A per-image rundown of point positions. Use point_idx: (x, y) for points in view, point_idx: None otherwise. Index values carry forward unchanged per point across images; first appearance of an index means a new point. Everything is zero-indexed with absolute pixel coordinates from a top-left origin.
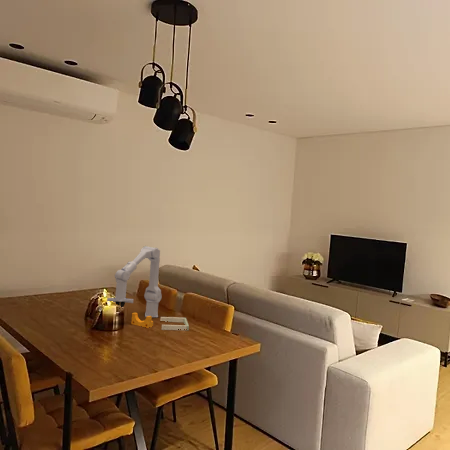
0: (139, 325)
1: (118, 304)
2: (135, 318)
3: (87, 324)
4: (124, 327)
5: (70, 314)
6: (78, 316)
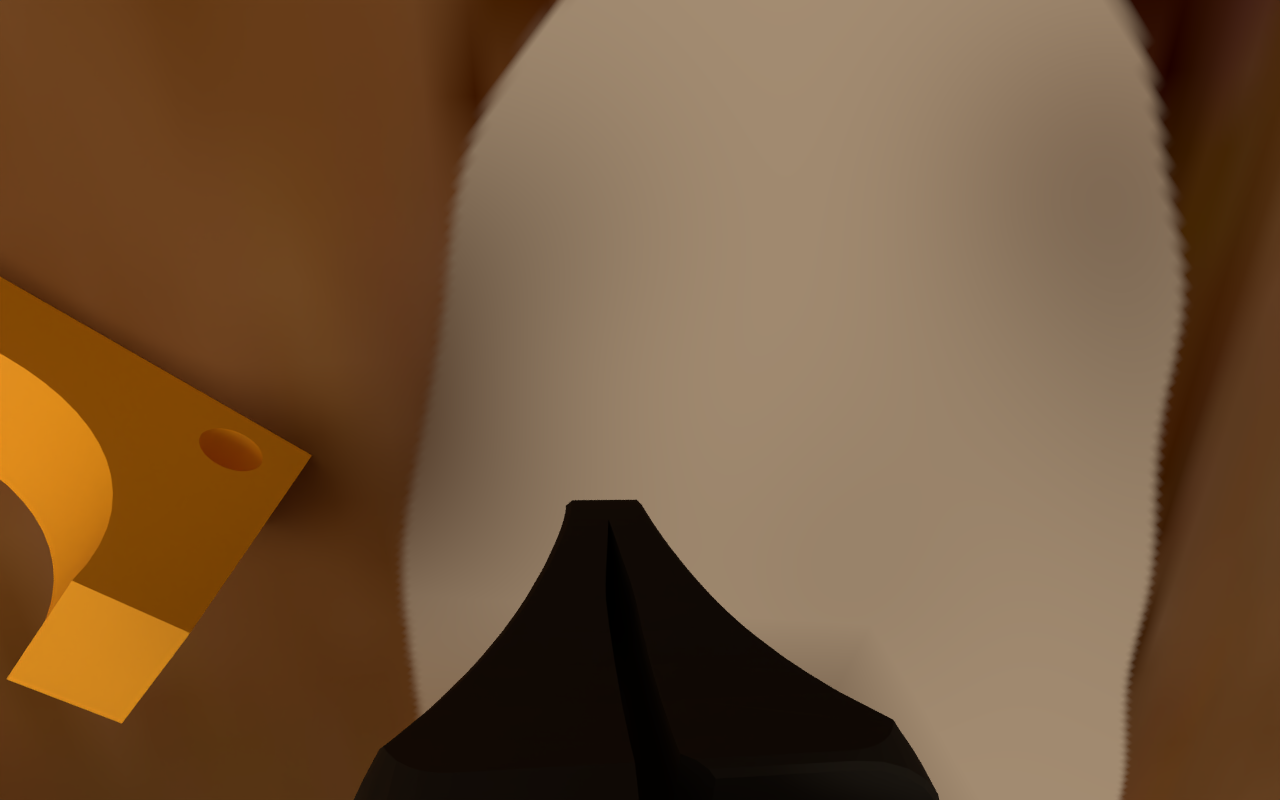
0: (66, 324)
1: (742, 746)
2: (119, 475)
3: (1191, 347)
4: (436, 169)
5: (1266, 790)
6: (1193, 732)
